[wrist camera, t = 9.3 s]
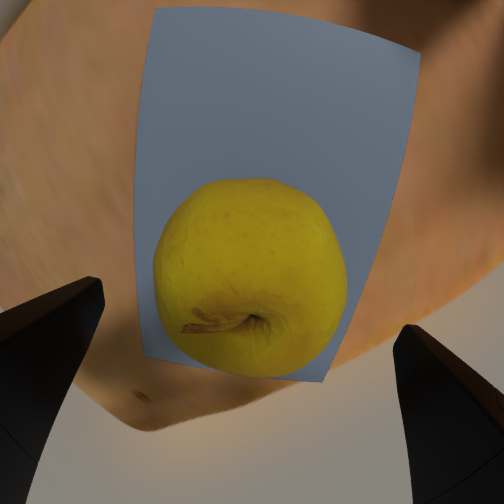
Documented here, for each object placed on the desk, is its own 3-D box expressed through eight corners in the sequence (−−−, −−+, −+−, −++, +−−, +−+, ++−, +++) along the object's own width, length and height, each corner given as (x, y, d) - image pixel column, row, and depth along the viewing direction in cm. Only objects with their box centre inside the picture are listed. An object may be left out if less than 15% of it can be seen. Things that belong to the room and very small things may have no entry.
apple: (175, 170, 13) (68, 242, 5) (321, 155, 12) (393, 211, 5) (200, 293, 15) (155, 423, 8) (325, 285, 15) (358, 420, 7)
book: (157, 327, 21) (144, 356, 18) (174, 24, 12) (155, 8, 9) (317, 352, 21) (322, 382, 18) (396, 61, 12) (421, 53, 9)
